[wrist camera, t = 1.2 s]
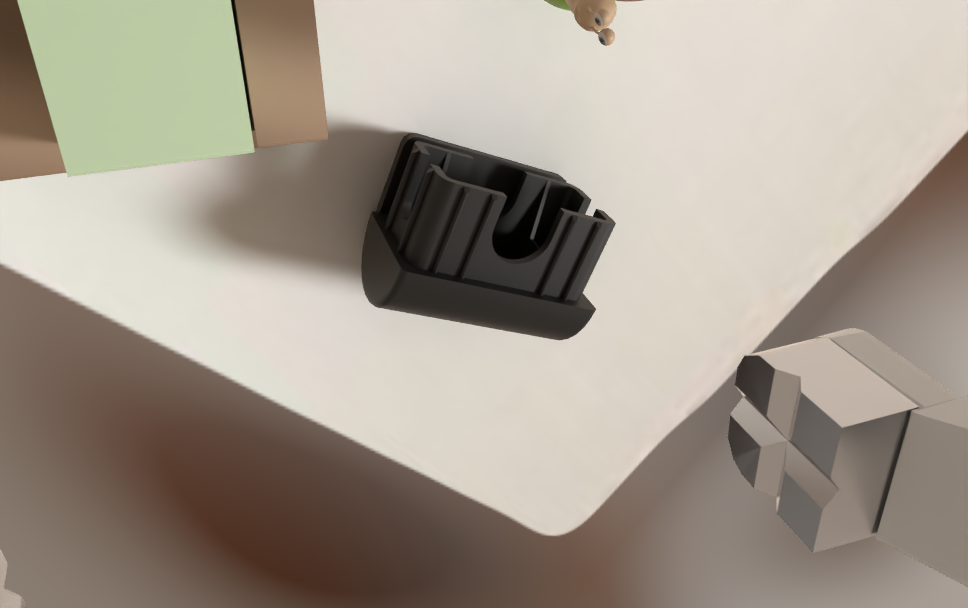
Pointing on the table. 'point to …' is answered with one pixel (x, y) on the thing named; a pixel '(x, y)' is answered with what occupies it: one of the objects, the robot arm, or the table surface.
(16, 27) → the key panel
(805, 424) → the robot arm
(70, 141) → the sage key
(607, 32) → the snail figurine
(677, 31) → the table surface
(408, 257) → the end cap
